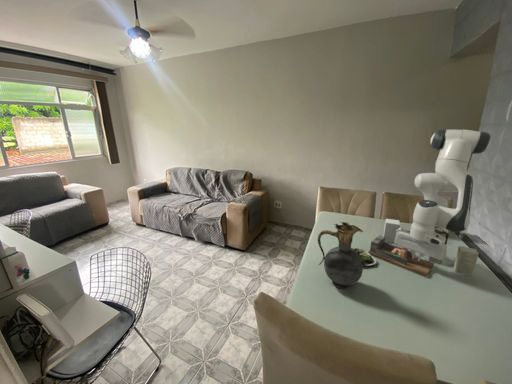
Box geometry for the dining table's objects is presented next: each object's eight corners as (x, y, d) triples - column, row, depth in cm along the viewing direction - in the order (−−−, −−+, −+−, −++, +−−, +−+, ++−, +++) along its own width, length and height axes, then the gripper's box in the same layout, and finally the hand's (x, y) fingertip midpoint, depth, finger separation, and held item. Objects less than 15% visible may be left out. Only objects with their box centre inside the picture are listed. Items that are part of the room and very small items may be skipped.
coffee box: (442, 263, 109) (449, 234, 104) (428, 261, 110) (434, 233, 105) (432, 253, 117) (438, 226, 113) (419, 252, 118) (424, 225, 114)
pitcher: (360, 296, 88) (369, 230, 80) (313, 284, 96) (316, 222, 88) (360, 280, 98) (368, 219, 90) (317, 270, 106) (320, 213, 97)
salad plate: (331, 248, 125) (331, 241, 124) (361, 247, 125) (362, 240, 124) (345, 269, 106) (346, 261, 105) (380, 267, 107) (382, 259, 105)
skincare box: (470, 272, 101) (477, 249, 98) (472, 277, 98) (479, 253, 94) (452, 267, 105) (458, 245, 101) (454, 272, 101) (460, 249, 98)
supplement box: (397, 244, 127) (400, 224, 123) (382, 241, 130) (385, 222, 127) (396, 239, 133) (399, 220, 129) (382, 236, 136) (385, 218, 133)
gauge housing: (377, 245, 126) (379, 234, 124) (433, 266, 106) (436, 252, 104) (367, 254, 118) (369, 241, 116) (425, 277, 98) (429, 263, 96)
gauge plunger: (394, 252, 116) (396, 243, 114) (406, 256, 112) (408, 247, 110) (389, 257, 111) (390, 248, 110) (401, 262, 107) (403, 253, 106)
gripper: (394, 228, 108) (390, 253, 112) (447, 244, 93) (440, 271, 96) (399, 225, 112) (394, 248, 116) (450, 239, 96) (443, 266, 100)
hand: (416, 259), depth 106 cm, fingers closed
